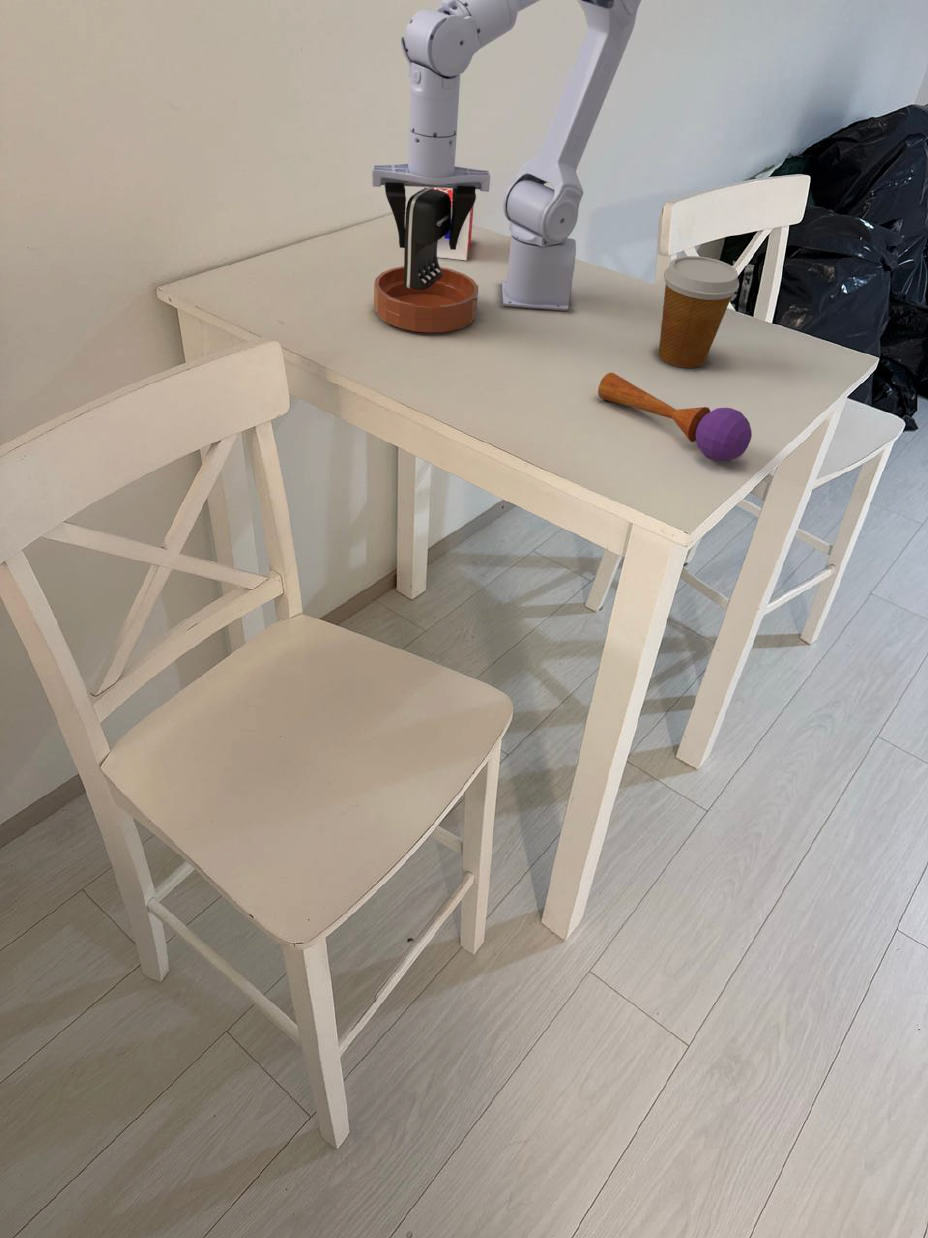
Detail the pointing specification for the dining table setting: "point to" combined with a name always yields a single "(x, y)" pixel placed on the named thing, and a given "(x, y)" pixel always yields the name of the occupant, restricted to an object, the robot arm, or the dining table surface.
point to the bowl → (426, 301)
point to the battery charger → (425, 236)
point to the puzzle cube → (463, 238)
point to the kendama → (687, 419)
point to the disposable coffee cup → (694, 308)
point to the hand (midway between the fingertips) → (427, 245)
